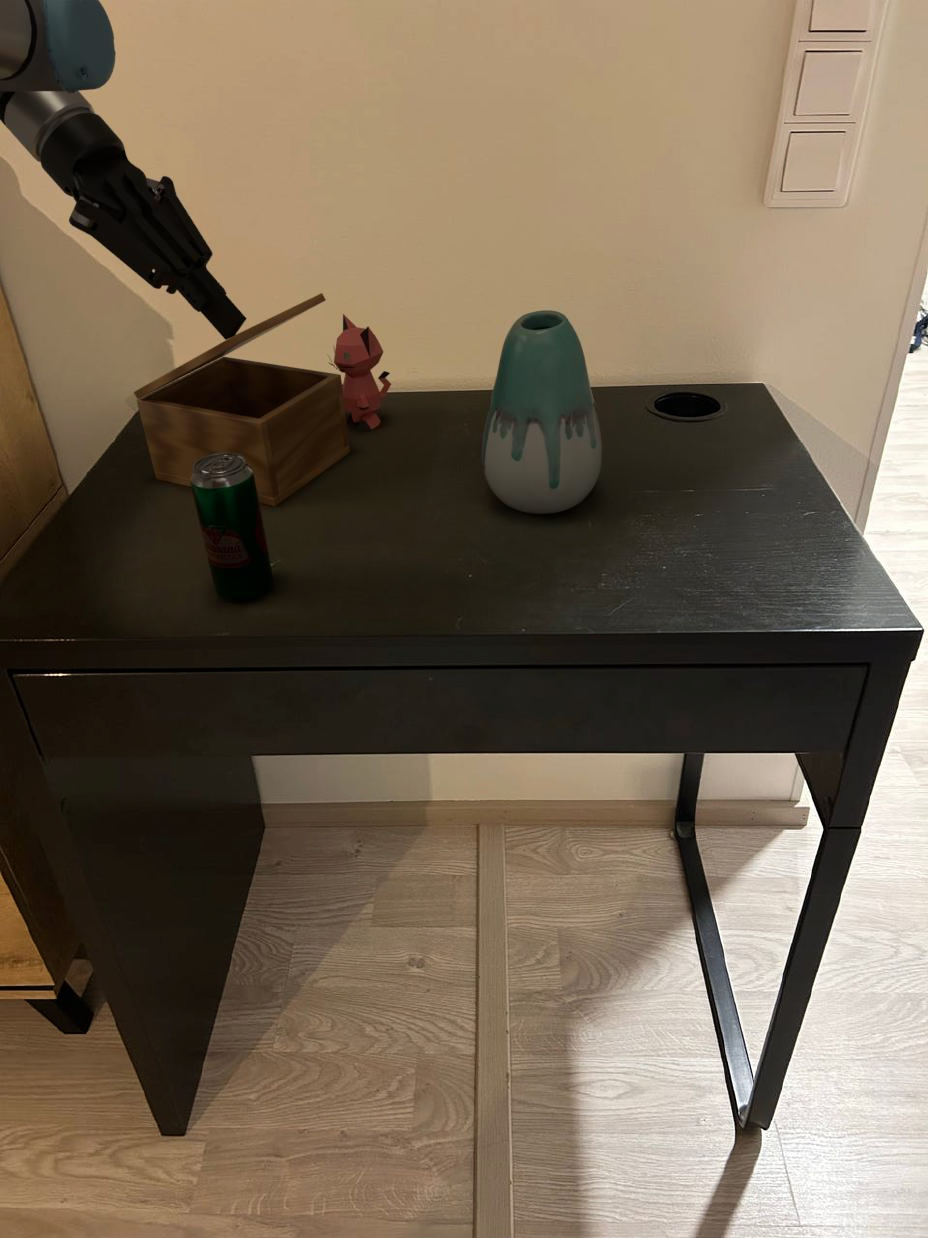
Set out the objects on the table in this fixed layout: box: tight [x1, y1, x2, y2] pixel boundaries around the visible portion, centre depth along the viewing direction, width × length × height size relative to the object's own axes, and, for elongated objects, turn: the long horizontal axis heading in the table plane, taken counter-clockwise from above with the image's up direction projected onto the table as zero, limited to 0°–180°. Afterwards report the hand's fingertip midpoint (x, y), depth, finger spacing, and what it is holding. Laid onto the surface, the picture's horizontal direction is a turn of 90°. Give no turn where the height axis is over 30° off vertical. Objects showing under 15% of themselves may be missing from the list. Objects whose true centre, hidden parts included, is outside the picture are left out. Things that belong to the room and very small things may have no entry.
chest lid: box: [133, 292, 327, 400], centre depth 97 cm, size 17×14×1 cm
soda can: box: [190, 452, 274, 603], centre depth 80 cm, size 5×5×12 cm
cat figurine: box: [327, 313, 392, 432], centre depth 109 cm, size 7×7×12 cm
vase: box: [481, 309, 603, 515], centre depth 89 cm, size 12×12×18 cm
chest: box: [136, 356, 351, 507], centre depth 101 cm, size 16×14×9 cm
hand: (235, 329), depth 95 cm, fingers closed
